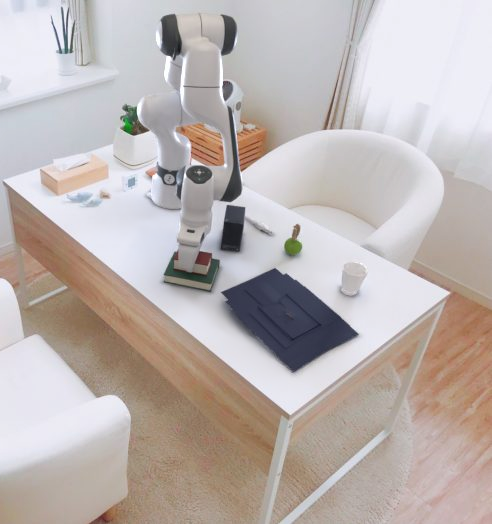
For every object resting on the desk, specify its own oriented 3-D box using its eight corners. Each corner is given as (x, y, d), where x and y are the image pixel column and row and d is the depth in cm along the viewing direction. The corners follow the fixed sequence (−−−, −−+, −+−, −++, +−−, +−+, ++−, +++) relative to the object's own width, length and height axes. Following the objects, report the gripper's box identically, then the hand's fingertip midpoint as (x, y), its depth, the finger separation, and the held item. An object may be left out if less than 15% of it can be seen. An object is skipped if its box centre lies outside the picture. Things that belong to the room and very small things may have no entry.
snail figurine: (280, 257, 178) (286, 224, 171) (285, 246, 182) (291, 214, 175) (297, 261, 176) (304, 228, 169) (302, 251, 181) (309, 218, 173)
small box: (240, 252, 180) (244, 223, 174) (219, 249, 181) (222, 221, 175) (242, 233, 188) (246, 206, 182) (222, 231, 189) (225, 204, 183)
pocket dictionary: (178, 258, 172) (178, 247, 170) (211, 264, 170) (212, 253, 167) (173, 269, 167) (173, 258, 165) (206, 276, 165) (207, 264, 163)
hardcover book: (174, 259, 177) (174, 251, 175) (219, 267, 173) (219, 259, 171) (163, 282, 167) (163, 274, 166) (210, 291, 164) (211, 283, 162)
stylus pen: (275, 234, 188) (276, 229, 187) (269, 237, 187) (270, 232, 186) (243, 214, 198) (243, 210, 197) (237, 217, 197) (238, 212, 195)
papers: (277, 272, 169) (280, 263, 167) (356, 340, 152) (360, 331, 149) (213, 301, 158) (215, 292, 156) (290, 379, 141) (293, 369, 138)
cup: (331, 292, 164) (337, 269, 159) (346, 275, 171) (352, 253, 166) (355, 302, 161) (362, 279, 156) (369, 284, 167) (376, 262, 162)
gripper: (193, 203, 168) (190, 242, 177) (175, 241, 153) (173, 282, 161) (214, 207, 167) (210, 246, 175) (198, 245, 151) (195, 286, 159)
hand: (192, 263), depth 168 cm, fingers closed on pocket dictionary, 6 cm apart
